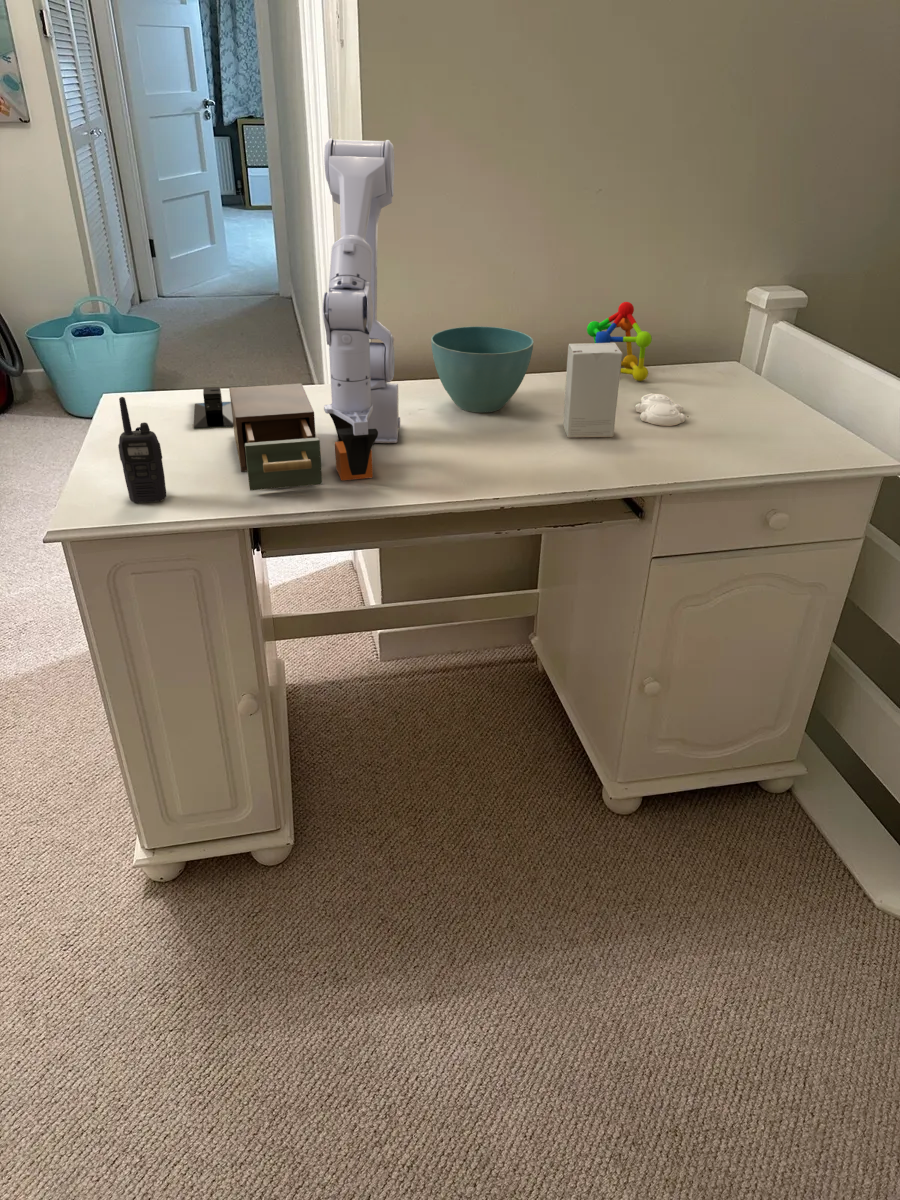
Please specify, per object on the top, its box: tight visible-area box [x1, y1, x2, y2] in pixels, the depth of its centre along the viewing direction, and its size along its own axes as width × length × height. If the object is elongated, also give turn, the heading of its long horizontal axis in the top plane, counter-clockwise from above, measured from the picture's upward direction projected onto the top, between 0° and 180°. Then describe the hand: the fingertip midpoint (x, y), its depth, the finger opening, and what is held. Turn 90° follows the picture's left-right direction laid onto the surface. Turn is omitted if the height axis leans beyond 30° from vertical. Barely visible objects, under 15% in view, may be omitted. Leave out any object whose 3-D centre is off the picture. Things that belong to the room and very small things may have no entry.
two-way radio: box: [117, 396, 167, 504], centre depth 119 cm, size 6×4×15 cm
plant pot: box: [430, 325, 534, 414], centre depth 156 cm, size 18×18×12 cm
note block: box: [334, 440, 373, 481], centre depth 131 cm, size 5×5×4 cm
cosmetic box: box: [562, 342, 623, 438], centre depth 145 cm, size 8×6×15 cm
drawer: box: [244, 418, 323, 492], centre depth 126 cm, size 18×10×7 cm, turn 16°
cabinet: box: [228, 382, 317, 473], centre depth 136 cm, size 14×12×9 cm
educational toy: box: [586, 301, 653, 382], centre depth 173 cm, size 16×13×15 cm
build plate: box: [191, 386, 234, 430], centre depth 150 cm, size 12×7×5 cm, turn 13°
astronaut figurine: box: [634, 393, 686, 427], centre depth 157 cm, size 9×12×3 cm
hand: (353, 463), depth 131 cm, fingers open, 7 cm apart
